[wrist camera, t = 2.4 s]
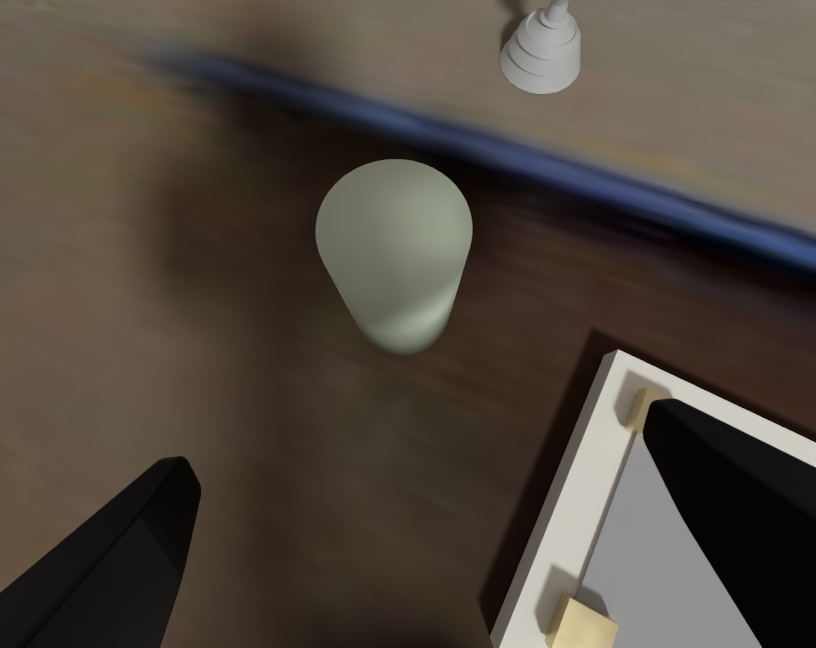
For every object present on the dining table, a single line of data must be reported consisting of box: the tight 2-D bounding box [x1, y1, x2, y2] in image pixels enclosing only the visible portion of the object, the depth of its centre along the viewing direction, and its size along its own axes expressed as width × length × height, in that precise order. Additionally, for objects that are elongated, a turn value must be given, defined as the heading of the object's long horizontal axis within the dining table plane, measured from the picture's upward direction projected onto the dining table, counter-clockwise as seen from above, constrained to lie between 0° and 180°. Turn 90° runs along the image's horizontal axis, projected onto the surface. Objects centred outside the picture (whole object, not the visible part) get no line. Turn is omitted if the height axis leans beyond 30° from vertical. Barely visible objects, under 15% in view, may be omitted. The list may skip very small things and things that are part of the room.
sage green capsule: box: [316, 159, 473, 356], centre depth 17 cm, size 5×5×9 cm
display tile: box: [490, 350, 816, 648], centre depth 17 cm, size 14×14×2 cm
